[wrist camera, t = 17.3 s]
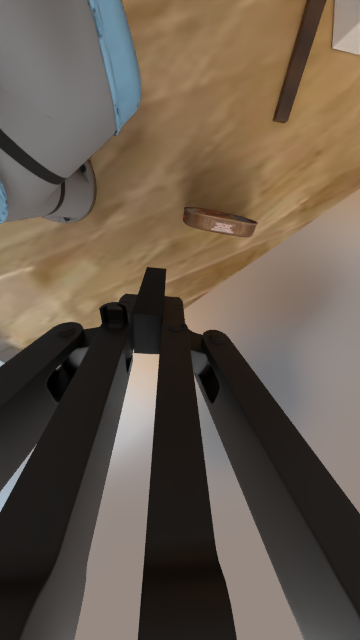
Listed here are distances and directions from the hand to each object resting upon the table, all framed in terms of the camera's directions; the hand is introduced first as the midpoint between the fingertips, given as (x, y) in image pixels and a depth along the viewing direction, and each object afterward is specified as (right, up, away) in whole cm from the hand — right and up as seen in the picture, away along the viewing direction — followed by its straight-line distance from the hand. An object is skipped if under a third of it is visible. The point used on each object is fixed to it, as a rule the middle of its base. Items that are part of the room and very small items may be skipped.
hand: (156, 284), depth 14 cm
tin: (+10, +20, +24) cm, 33 cm away
